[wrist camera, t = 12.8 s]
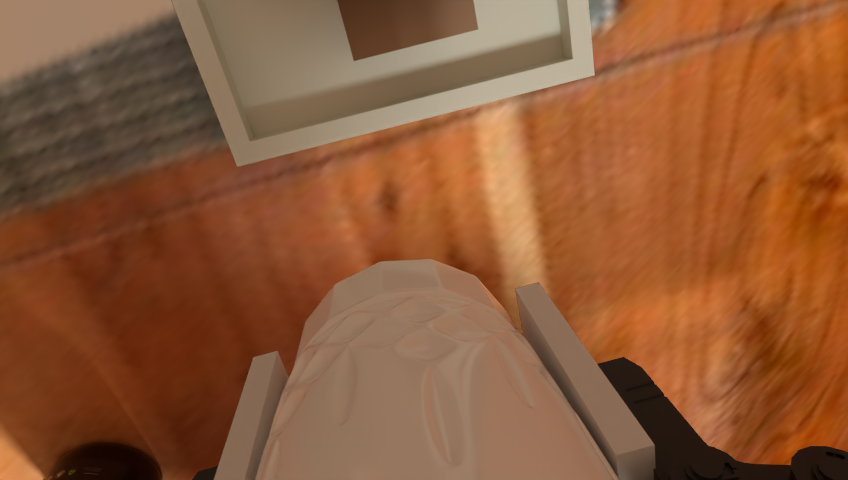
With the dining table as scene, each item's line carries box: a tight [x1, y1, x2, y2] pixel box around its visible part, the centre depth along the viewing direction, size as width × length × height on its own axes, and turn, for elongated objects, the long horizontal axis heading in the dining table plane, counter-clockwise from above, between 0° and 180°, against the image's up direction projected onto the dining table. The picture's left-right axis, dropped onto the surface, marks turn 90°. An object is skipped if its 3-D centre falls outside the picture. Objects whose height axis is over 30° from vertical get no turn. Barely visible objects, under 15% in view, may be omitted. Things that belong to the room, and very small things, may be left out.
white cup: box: [255, 259, 619, 480], centre depth 11 cm, size 8×8×10 cm
